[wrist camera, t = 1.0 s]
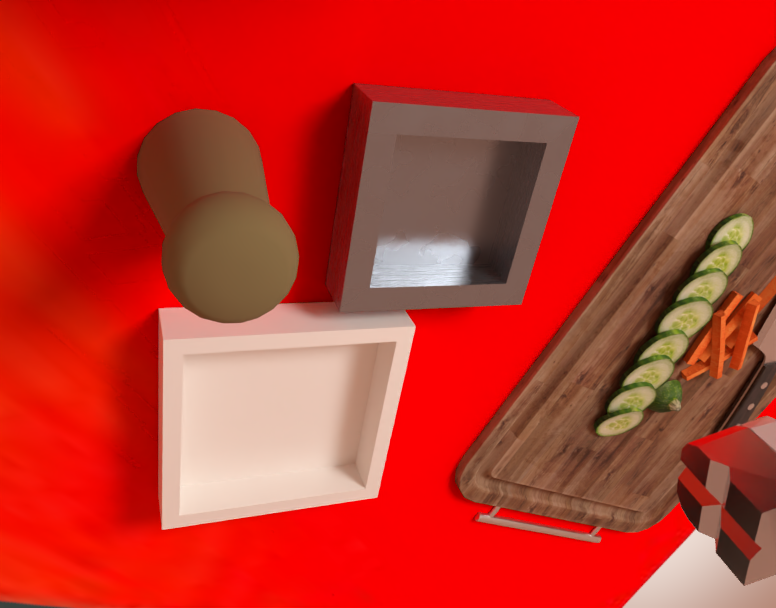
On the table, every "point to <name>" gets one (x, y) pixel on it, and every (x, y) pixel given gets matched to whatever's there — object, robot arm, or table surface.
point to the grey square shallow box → (443, 197)
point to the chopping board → (650, 347)
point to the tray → (275, 409)
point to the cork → (216, 217)
